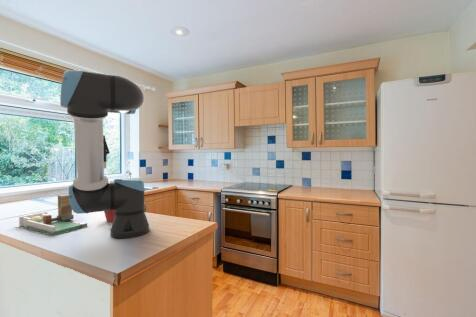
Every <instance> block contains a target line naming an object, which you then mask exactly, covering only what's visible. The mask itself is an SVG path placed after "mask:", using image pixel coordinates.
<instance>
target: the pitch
mask: <svg viewBox="0 0 476 317" xmlns="http://www.w3.org/2000/svg"><path fill="white" fill-rule="evenodd" d="M46 215H48V211H42V212H36V213H31V214H25V215H21V216H18V226H19V227H25V228H26V229H28V230H32V231H36V232H40V233H43V234H46V235H50V236H58V235H61V234H64V233H68V232H71V231H75V230H80V229H82V228H81V225H80V224H75V223H70V222H66V221H61V220H57V221H52V223H49V224H43V216H46ZM35 216H40V217H41V218H42V221H41V222H34V221H32V220H31V219H32V218H33V217H35Z"/></svg>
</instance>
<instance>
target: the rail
mask: <svg viewBox="0 0 476 317" xmlns="http://www.w3.org/2000/svg"><path fill="white" fill-rule="evenodd" d="M66 222H70V223H75V224H80V225H81V228H80V229H82V228H86V227H88V223H87V222H83V221H77V220H74V219H71V220H67V221H66Z"/></svg>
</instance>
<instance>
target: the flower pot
mask: <svg viewBox="0 0 476 317" xmlns="http://www.w3.org/2000/svg"><path fill="white" fill-rule="evenodd" d="M103 212H104V216H105V220H106V222H108V223H113V221H114V218H115V210H109V211H103Z"/></svg>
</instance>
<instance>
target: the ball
mask: <svg viewBox="0 0 476 317" xmlns="http://www.w3.org/2000/svg"><path fill="white" fill-rule="evenodd" d="M31 220H32V221H34V222H41V221H42V218H41V217H40V216H35V217H33V218H32V219H31Z"/></svg>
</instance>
